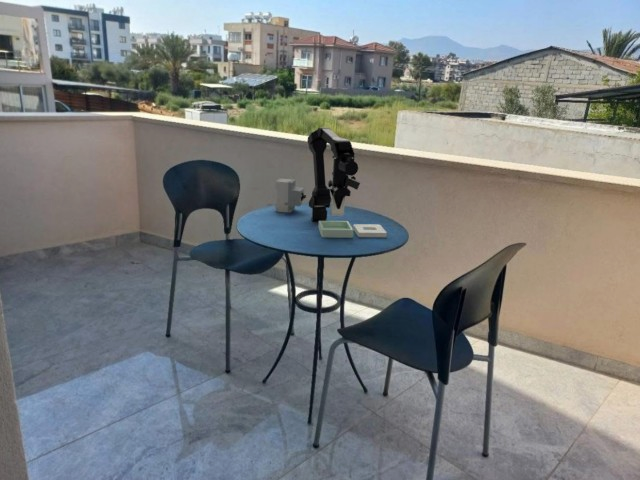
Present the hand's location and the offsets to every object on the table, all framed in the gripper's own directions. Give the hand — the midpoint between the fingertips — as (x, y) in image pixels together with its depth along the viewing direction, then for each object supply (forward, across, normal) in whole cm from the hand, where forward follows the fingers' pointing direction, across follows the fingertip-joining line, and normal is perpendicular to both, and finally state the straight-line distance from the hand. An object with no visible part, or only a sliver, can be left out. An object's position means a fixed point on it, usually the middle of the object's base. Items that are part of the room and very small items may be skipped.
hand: (337, 207), depth 185 cm
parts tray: (+11, 0, 0) cm, 11 cm away
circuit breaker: (+11, +35, +17) cm, 41 cm away
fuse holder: (+11, 0, -14) cm, 18 cm away
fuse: (+3, 0, 0) cm, 3 cm away
